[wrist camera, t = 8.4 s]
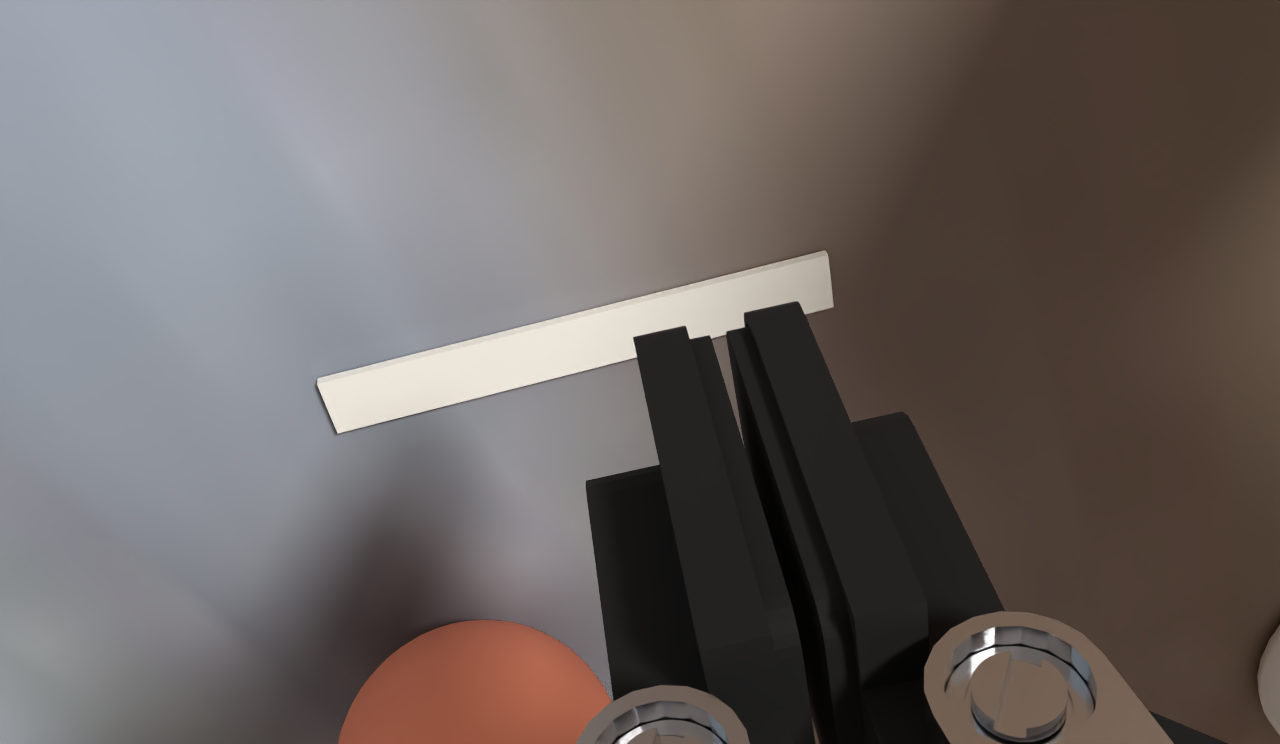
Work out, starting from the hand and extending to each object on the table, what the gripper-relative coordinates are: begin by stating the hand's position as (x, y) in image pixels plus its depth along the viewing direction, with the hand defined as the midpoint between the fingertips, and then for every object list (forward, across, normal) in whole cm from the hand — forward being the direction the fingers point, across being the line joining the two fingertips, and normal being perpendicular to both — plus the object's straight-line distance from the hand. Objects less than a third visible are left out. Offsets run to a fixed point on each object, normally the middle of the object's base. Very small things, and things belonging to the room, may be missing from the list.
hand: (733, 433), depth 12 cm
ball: (+6, +6, +13) cm, 15 cm away
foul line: (+10, +2, +5) cm, 11 cm away
